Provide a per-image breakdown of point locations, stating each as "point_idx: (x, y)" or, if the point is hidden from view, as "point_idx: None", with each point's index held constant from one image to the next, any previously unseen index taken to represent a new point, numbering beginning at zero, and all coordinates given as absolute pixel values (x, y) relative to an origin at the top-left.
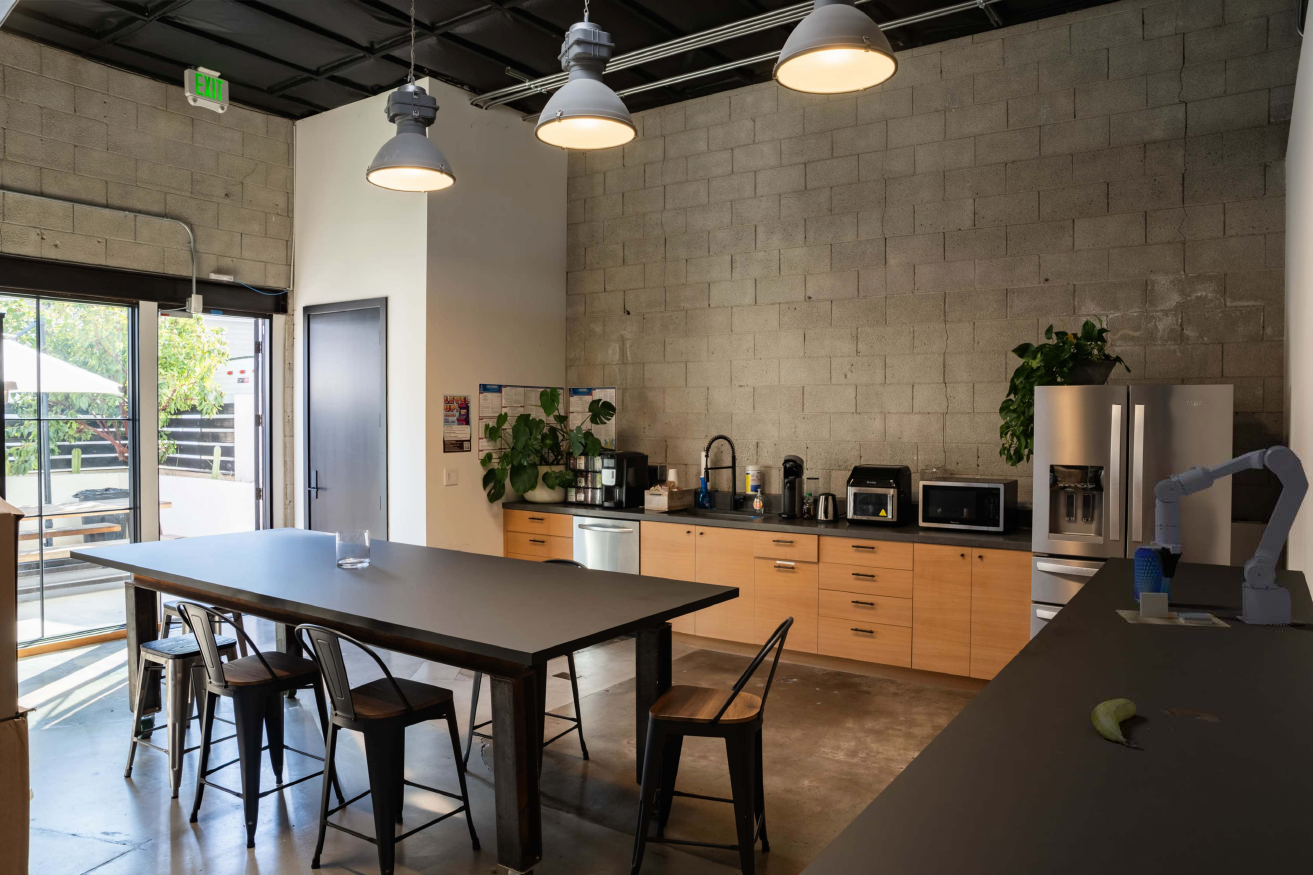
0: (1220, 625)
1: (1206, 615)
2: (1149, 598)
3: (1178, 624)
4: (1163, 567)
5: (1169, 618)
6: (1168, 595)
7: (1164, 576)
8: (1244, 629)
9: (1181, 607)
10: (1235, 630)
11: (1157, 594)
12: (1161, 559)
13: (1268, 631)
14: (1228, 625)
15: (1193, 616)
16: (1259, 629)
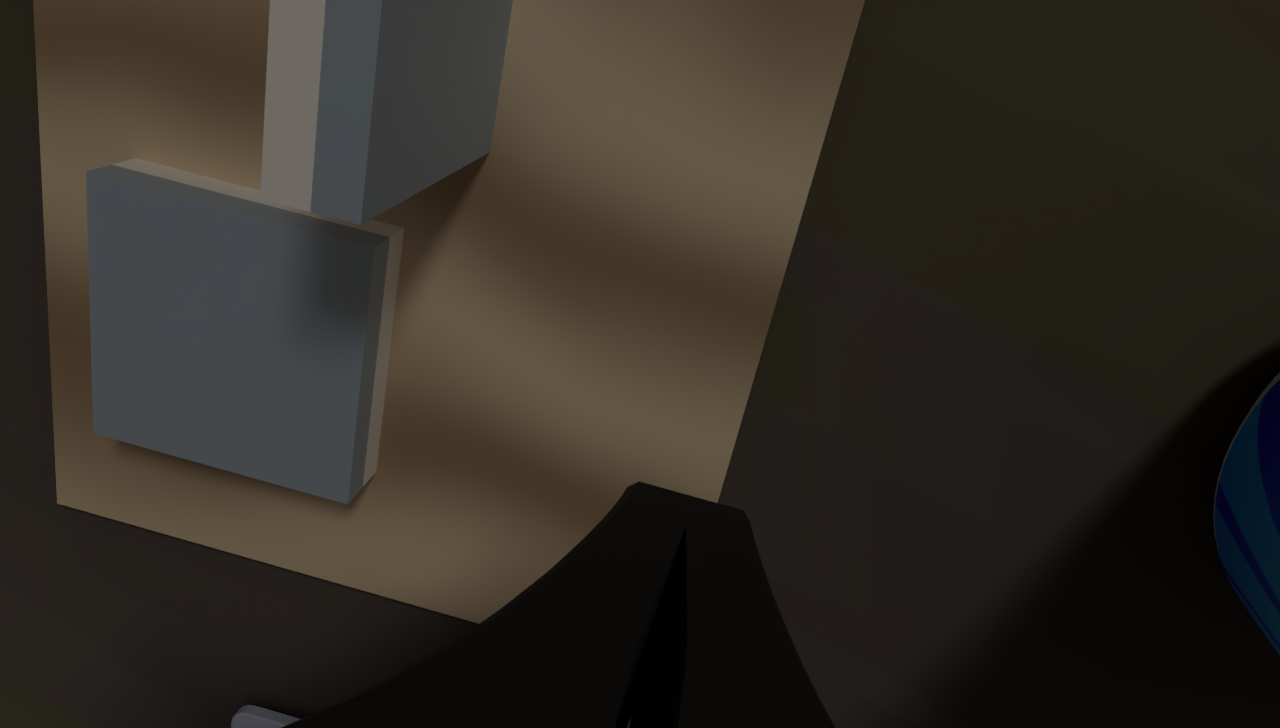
0: (100, 448)
1: (229, 461)
2: None
3: (52, 53)
4: (536, 594)
5: None
6: (1276, 650)
7: (625, 491)
8: (64, 572)
9: (1110, 647)
10: (2, 481)
11: (275, 29)
12: (345, 701)
13: (33, 687)
14: (118, 515)
15: (146, 298)
16: (92, 674)
